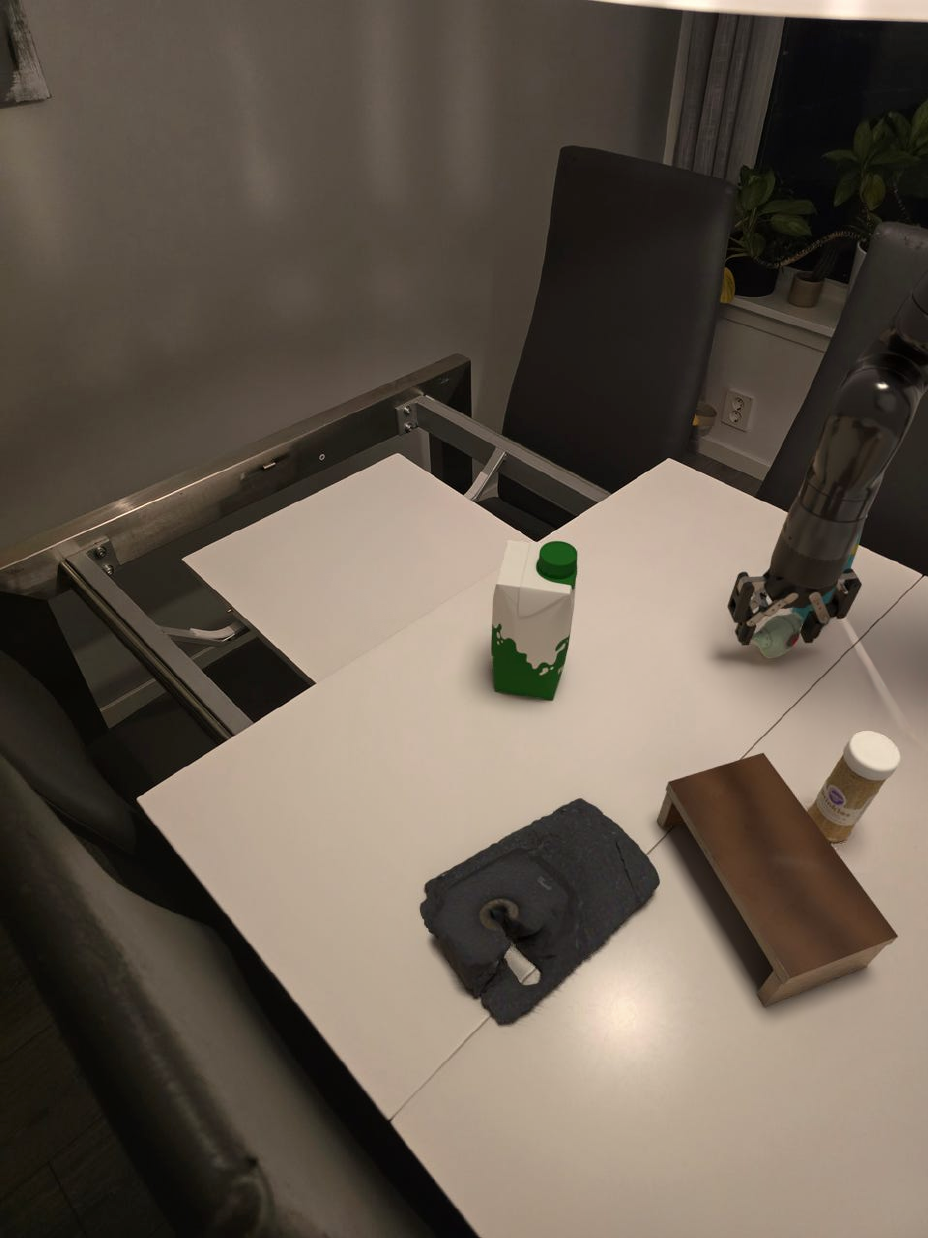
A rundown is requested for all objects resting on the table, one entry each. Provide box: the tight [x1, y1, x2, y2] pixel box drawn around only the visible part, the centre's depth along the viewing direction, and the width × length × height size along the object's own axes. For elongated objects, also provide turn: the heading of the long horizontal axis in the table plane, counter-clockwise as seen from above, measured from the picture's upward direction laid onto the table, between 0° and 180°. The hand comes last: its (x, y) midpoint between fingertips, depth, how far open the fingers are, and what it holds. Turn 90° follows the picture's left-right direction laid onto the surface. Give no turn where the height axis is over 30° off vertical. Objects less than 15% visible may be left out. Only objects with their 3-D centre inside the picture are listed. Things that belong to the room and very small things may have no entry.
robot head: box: [751, 612, 803, 659], centre depth 96 cm, size 8×4×7 cm, turn 122°
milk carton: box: [490, 539, 579, 701], centre depth 90 cm, size 9×9×20 cm
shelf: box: [656, 752, 899, 1007], centre depth 75 cm, size 11×20×7 cm, turn 19°
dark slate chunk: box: [419, 797, 661, 1023], centre depth 74 cm, size 15×22×5 cm
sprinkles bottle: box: [806, 730, 901, 843], centre depth 77 cm, size 5×5×14 cm
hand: (774, 639), depth 96 cm, fingers closed on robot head, 7 cm apart
